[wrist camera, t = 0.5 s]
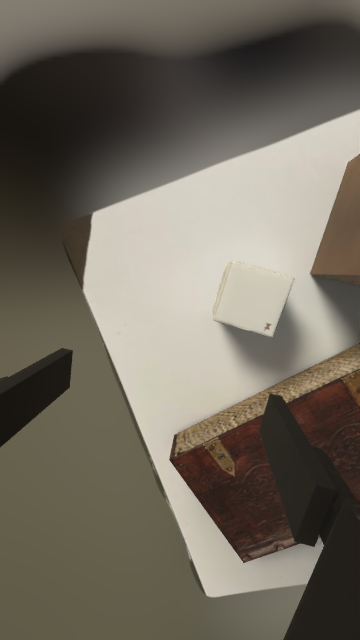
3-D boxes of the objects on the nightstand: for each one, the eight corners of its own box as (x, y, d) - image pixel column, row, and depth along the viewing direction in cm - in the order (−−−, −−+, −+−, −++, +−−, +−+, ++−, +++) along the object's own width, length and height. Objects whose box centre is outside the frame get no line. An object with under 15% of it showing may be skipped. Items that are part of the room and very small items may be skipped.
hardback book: (240, 528, 37) (245, 567, 32) (174, 433, 35) (169, 459, 30) (438, 453, 31) (481, 487, 26) (374, 333, 29) (408, 346, 24)
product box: (275, 275, 29) (297, 278, 22) (257, 323, 30) (273, 339, 23) (226, 261, 29) (232, 259, 22) (211, 309, 31) (212, 321, 24)
